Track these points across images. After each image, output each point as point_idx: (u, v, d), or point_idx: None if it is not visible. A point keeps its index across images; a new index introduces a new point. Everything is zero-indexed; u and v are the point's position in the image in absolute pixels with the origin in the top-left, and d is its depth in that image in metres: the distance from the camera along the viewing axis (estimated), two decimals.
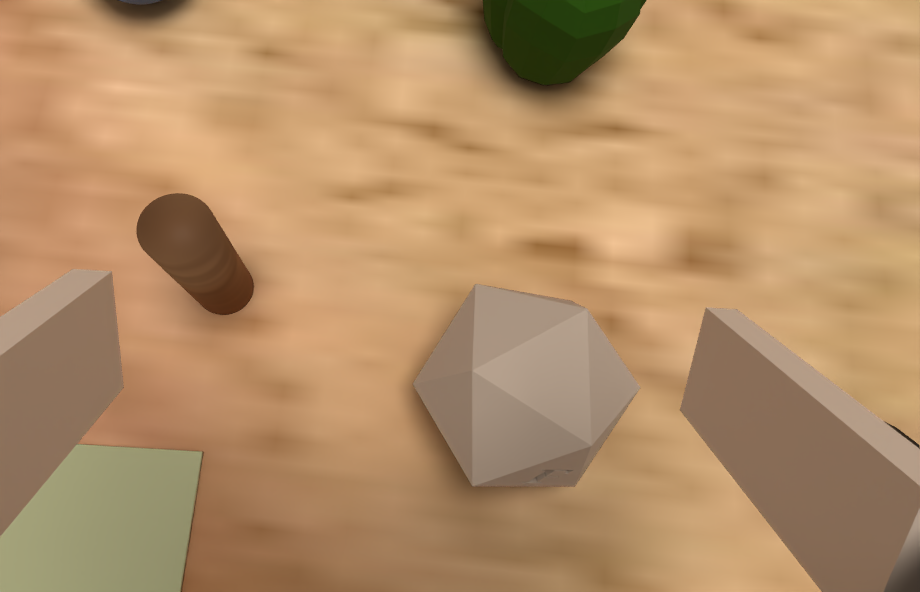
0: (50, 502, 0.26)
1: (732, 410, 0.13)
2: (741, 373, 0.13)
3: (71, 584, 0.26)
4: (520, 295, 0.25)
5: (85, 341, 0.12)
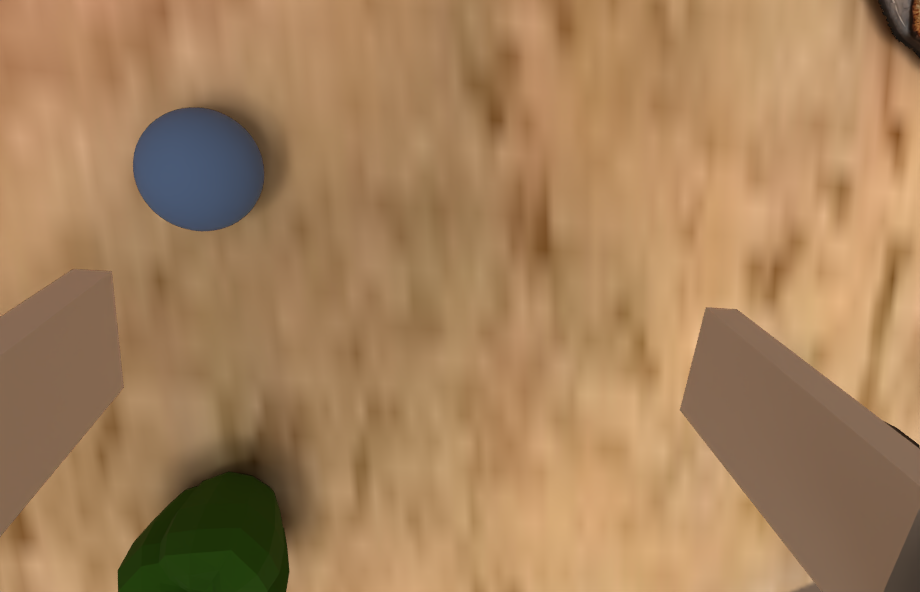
0: None
1: (731, 409, 0.13)
2: (742, 373, 0.13)
3: None
4: None
5: (85, 341, 0.12)
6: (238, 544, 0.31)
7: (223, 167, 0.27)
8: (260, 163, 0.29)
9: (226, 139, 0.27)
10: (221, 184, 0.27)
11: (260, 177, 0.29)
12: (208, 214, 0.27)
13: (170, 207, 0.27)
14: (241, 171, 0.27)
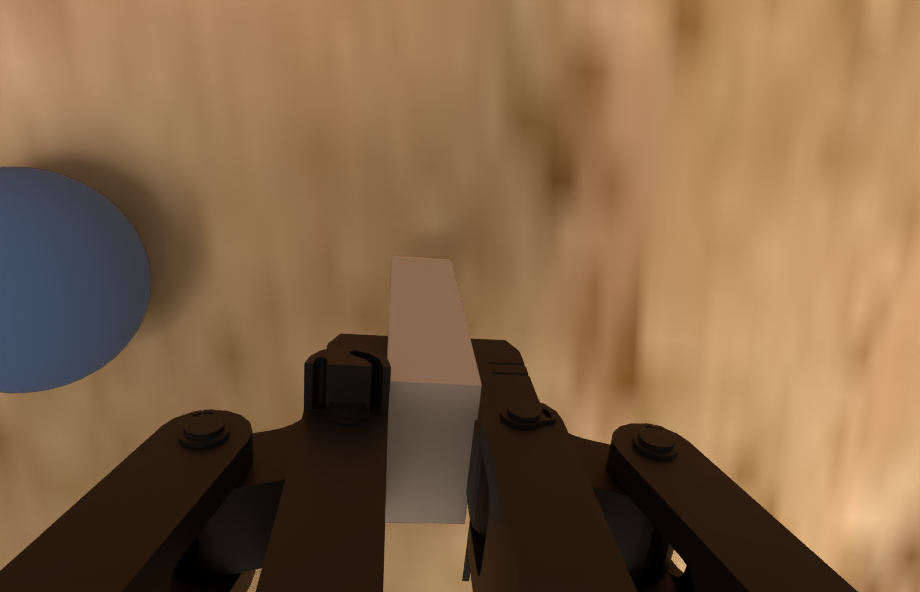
0: None
1: None
2: None
3: None
4: None
5: None
6: None
7: (43, 292, 0.13)
8: (136, 268, 0.15)
9: (52, 234, 0.14)
10: (40, 324, 0.14)
11: (136, 295, 0.15)
12: (22, 376, 0.14)
13: None
14: (86, 294, 0.14)
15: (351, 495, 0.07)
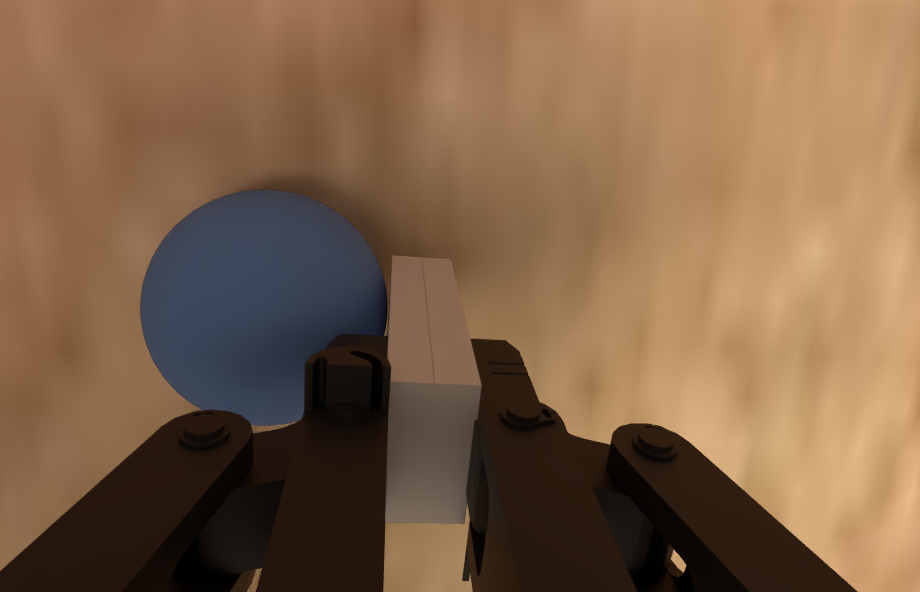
0: None
1: None
2: None
3: None
4: None
5: None
6: None
7: (145, 299, 0.13)
8: (227, 331, 0.12)
9: (175, 252, 0.13)
10: (143, 328, 0.13)
11: (216, 359, 0.12)
12: None
13: None
14: (161, 322, 0.13)
15: (351, 496, 0.07)
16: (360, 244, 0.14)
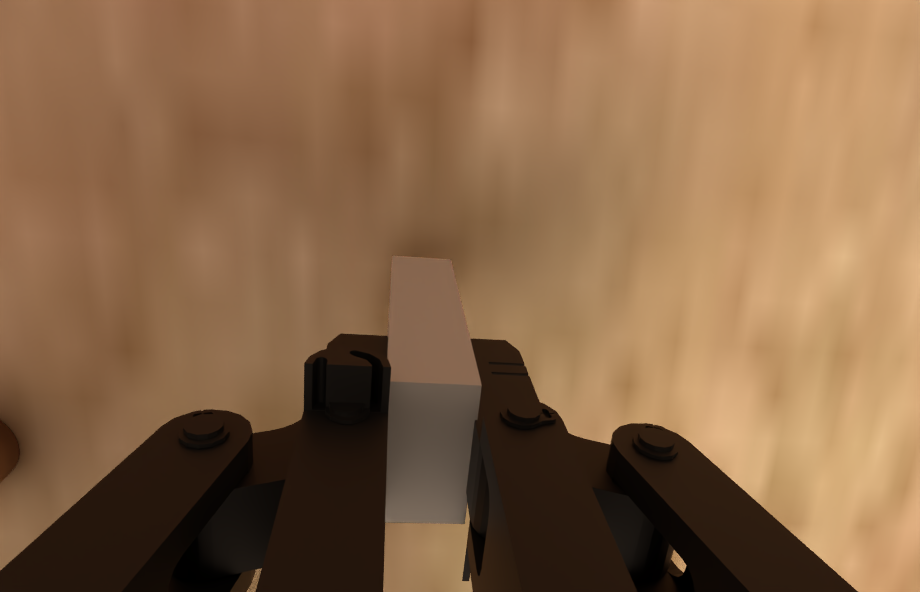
0: None
1: None
2: None
3: None
4: None
5: None
6: None
7: None
8: None
9: None
10: None
11: None
12: None
13: None
14: None
15: (351, 495, 0.07)
16: None
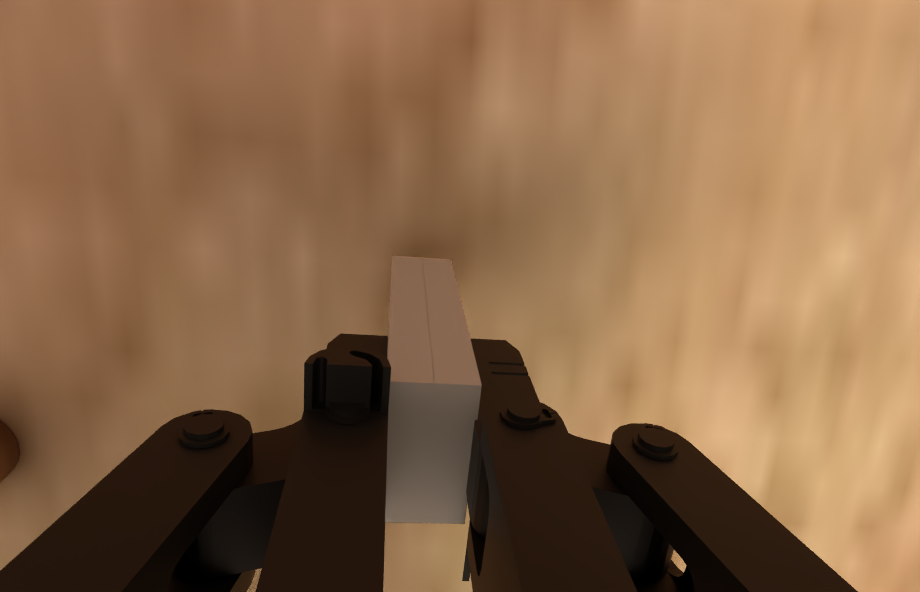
0: None
1: None
2: None
3: None
4: None
5: None
6: None
7: None
8: None
9: None
10: None
11: None
12: None
13: None
14: None
15: (351, 495, 0.07)
16: None
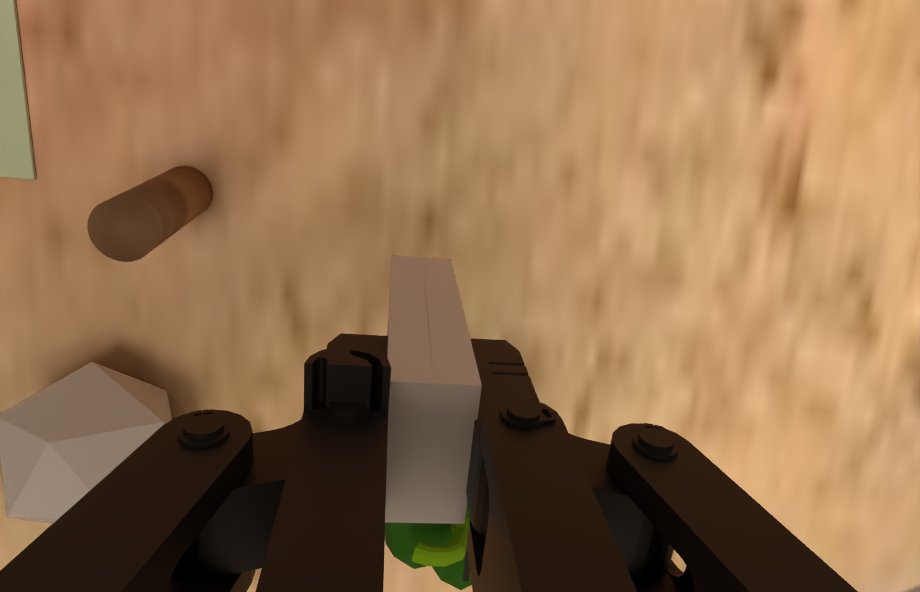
0: None
1: None
2: None
3: None
4: None
5: None
6: None
7: None
8: None
9: None
10: None
11: None
12: None
13: None
14: None
15: (350, 495, 0.07)
16: None
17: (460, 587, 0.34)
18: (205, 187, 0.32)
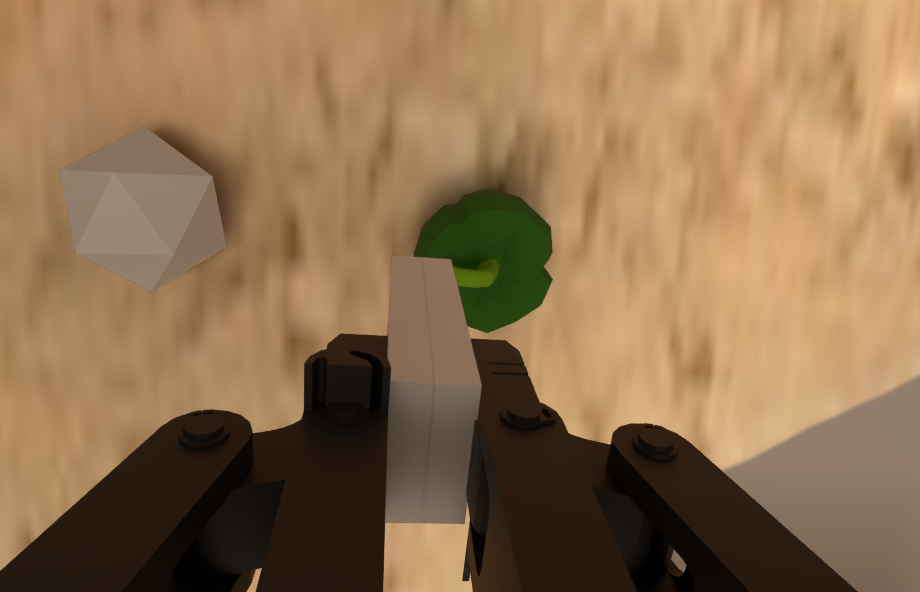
0: None
1: None
2: None
3: None
4: (194, 209, 0.35)
5: None
6: (529, 213, 0.36)
7: None
8: None
9: None
10: None
11: None
12: None
13: None
14: None
15: (351, 495, 0.07)
16: None
17: (487, 329, 0.37)
18: None
